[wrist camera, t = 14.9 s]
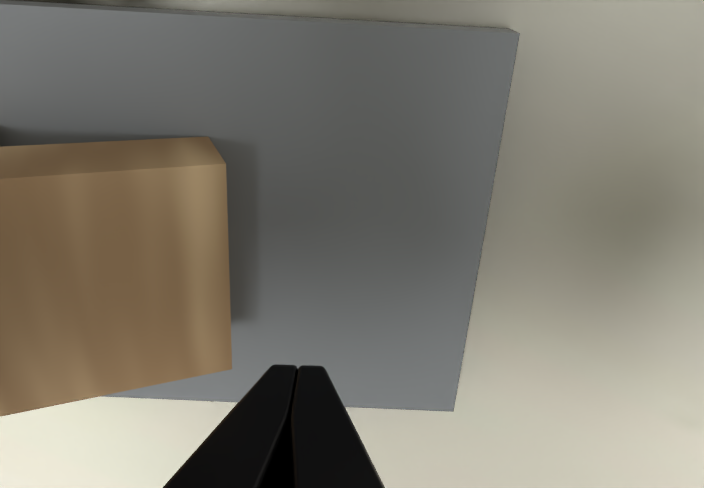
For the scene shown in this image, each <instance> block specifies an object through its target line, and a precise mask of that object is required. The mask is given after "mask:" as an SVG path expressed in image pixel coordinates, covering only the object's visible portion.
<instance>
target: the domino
mask: <svg viewBox="0 0 704 488" xmlns="http://www.w3.org/2000/svg"><path fill="white" fill-rule="evenodd" d="M231 369H232V347H231V313H230V280H229V247H228V213H227V180H226V163H225V161H224V160H223V158H222V157H221V155H220V154H219V152H218V151H217V149H216V148H215V146H214V145H213V143H212V142H211V140H210V138H209V137H187V138H167V139H146V140H126V141H105V142H85V143H64V144H44V145H23V146H3V147H0V416H5V415H10V414H15V413H20V412H25V411H30V410H34V409H39V408H44V407H49V406H54V405H59V404H64V403H69V402H74V401H79V400H83V399H88V398H93V397H98V396H103V395H108V394H113V393H118V392H123V391H128V390H133V389H137V388H142V387H147V386H152V385H157V384H162V383H167V382H172V381H177V380H182V379H186V378H191V377H196V376H201V375H206V374H211V373H216V372H221V371H226V370H231Z"/></svg>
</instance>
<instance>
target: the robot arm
mask: <svg viewBox="0 0 704 488" xmlns="http://www.w3.org/2000/svg"><path fill="white" fill-rule="evenodd" d="M163 488H385V487H384V485H383V483H382V481H381V479H380V477H379V475H378V473H377V471H376V469H375V467H374V465H373V463H372V461H371V459H370V457H369V455H368V453H367V451H366V449H365V447H364V445H363V443H362V441H361V439H360V437H359V435H358V433H357V431H356V429H355V427H354V425H353V423H352V421H351V419H350V417H349V415H348V413H347V411H346V409H345V407H344V405H343V403H342V401H341V399H340V397H339V395H338V393H337V391H336V389H335V387H334V385H333V383H332V381H331V379H330V377H329V375H328V373H327V371H326V369H325V368H324V367H323V366H316V365H301V366H300V367H299V368H297V366H295V365H283V364H275V365H272V366H270V367H269V369H268V370H267V371H266V372H265V373H264V374H263V375H262V376H261V378H260V379H259V380H258V381H257V382H256V383H255V384H254V385H253V387H252V388H251V389H250V390H249V391H248V392H247V393H246V395H245V396H244V397H243V398H242V399H241V400H240V401H239V402H238V404H237V405H236V406H235V407H234V408H233V409H232V410H231V411H230V413H229V414H228V415H227V416H226V417H225V418H224V419H223V420H222V422H221V423H220V424H219V425H218V426H217V427H216V428H215V429H214V431H213V432H212V433H211V434H210V435H209V436H208V437H207V438H206V440H205V441H204V442H203V443H202V444H201V445H200V446H199V447H198V449H197V450H196V451H195V452H194V453H193V454H192V455H191V456H190V458H189V459H188V460H187V461H186V462H185V463H184V464H183V465H182V467H181V468H180V469H179V470H178V471H177V472H176V473H175V474H174V476H173V477H172V478H171V479H170V480H169V481H168V482H167V483H166V485H165V486H164V487H163Z"/></svg>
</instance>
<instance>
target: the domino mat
mask: <svg viewBox="0 0 704 488" xmlns="http://www.w3.org/2000/svg"><path fill="white" fill-rule="evenodd" d="M518 40H519V33H517V32H515V31H513V30H511V29H505V28H487V27H470V26H452V25H435V24H417V23H400V22H382V21H365V20H347V19H330V18H312V17H295V16H277V15H260V14H242V13H224V12H207V11H189V10H172V9H154V8H137V7H119V6H102V5H84V4H67V3H49V2H32V1H14V0H0V146H1V147H3V146H23V145H44V144H64V143H85V142H105V141H126V140H146V139H167V138H187V137H209V138H210V140H211V142H212V143H213V145H214V146H215V148H216V149H217V151H218V152H219V154H220V155H221V157H222V158H223V160H224V161H225V163H226V180H227V213H228V247H229V280H230V313H231V347H232V369H231V370H226V371H221V372H216V373H211V374H206V375H201V376H196V377H191V378H186V379H182V380H177V381H172V382H167V383H162V384H157V385H152V386H147V387H142V388H137V389H133V390H128V391H123V392H118V393H113V394H108V395H103V396H105V397H129V398H152V399H175V400H198V401H221V402H239V401H240V400H241V399H242V398H243V397H244V396H245V395H246V393H247V392H248V391H249V390H250V389H251V388H252V387H253V385H254V384H255V383H256V382H257V381H258V380H259V379H260V378H261V376H262V375H263V374H264V373H265V372H266V371H267V370H268V369H269V367H270V366H272V365H275V364H283V365H295V366H297V368H299V367H300V366H301V365H316V366H323V367H324V368H325V369H326V371H327V373H328V375H329V377H330V379H331V381H332V383H333V385H334V387H335V389H336V391H337V393H338V395H339V397H340V399H341V401H342V403H343V405H344V407H360V408H383V409H406V410H430V411H454V405H455V399H456V394H457V388H458V382H459V377H460V371H461V365H462V359H463V354H464V348H465V342H466V337H467V331H468V325H469V320H470V314H471V308H472V302H473V297H474V291H475V285H476V280H477V274H478V268H479V262H480V257H481V251H482V245H483V240H484V234H485V228H486V223H487V217H488V211H489V205H490V200H491V194H492V188H493V183H494V177H495V171H496V166H497V160H498V154H499V148H500V143H501V137H502V131H503V126H504V120H505V114H506V109H507V103H508V97H509V91H510V86H511V80H512V74H513V69H514V63H515V57H516V52H517V46H518Z"/></svg>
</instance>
